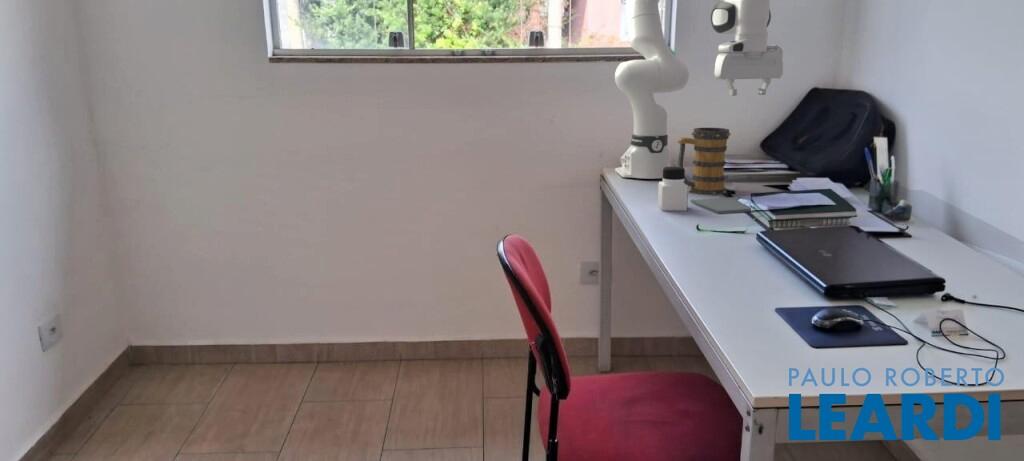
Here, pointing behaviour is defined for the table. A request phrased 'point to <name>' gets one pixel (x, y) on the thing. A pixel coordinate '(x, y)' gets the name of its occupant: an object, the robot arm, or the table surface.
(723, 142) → the mug
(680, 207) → the medicine bottle
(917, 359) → the table surface
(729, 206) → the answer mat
